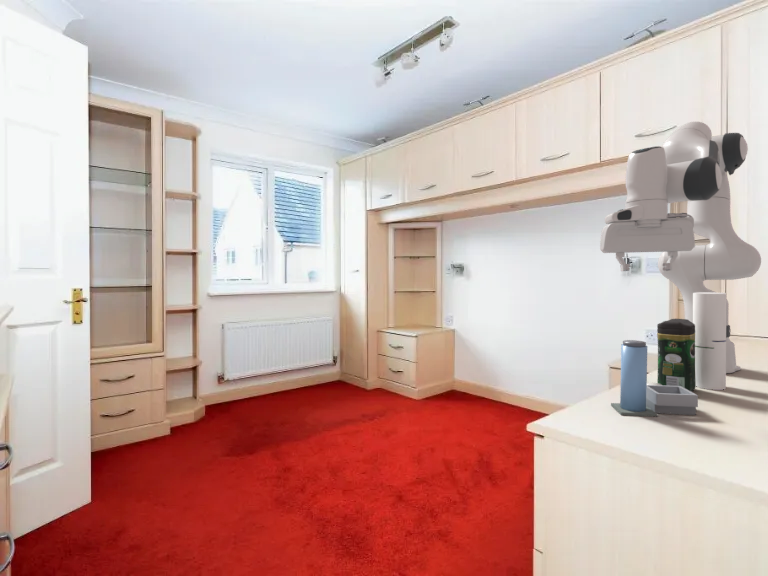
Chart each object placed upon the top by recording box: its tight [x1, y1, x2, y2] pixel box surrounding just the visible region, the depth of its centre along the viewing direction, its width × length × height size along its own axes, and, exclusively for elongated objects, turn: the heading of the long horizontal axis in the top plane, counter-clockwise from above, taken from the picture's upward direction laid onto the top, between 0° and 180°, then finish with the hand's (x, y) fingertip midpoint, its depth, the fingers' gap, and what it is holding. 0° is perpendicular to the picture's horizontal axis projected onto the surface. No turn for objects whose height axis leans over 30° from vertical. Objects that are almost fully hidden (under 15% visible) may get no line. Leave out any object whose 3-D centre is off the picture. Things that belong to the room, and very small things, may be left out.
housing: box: [646, 385, 699, 416], centre depth 101 cm, size 16×8×4 cm, turn 169°
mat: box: [610, 402, 658, 417], centre depth 97 cm, size 7×7×1 cm
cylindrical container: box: [693, 292, 727, 391], centre depth 116 cm, size 7×7×25 cm
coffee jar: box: [656, 318, 697, 392], centre depth 114 cm, size 10×8×19 cm
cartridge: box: [619, 339, 648, 412], centre depth 97 cm, size 5×5×15 cm
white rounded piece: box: [647, 381, 661, 385], centre depth 106 cm, size 4×4×3 cm
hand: (646, 270), depth 107 cm, fingers open, 8 cm apart
